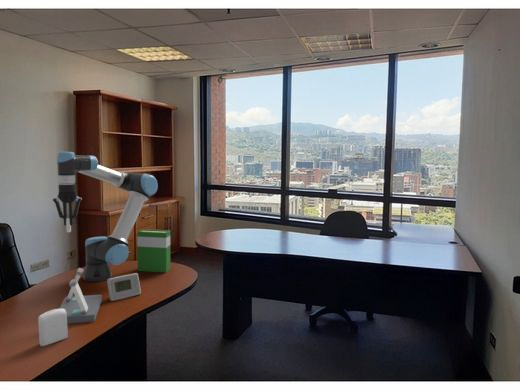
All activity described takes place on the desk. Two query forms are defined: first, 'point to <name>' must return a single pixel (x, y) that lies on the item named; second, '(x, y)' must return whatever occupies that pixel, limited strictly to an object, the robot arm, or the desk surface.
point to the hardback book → (153, 250)
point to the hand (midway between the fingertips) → (68, 231)
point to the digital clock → (123, 286)
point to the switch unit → (75, 312)
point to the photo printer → (52, 326)
